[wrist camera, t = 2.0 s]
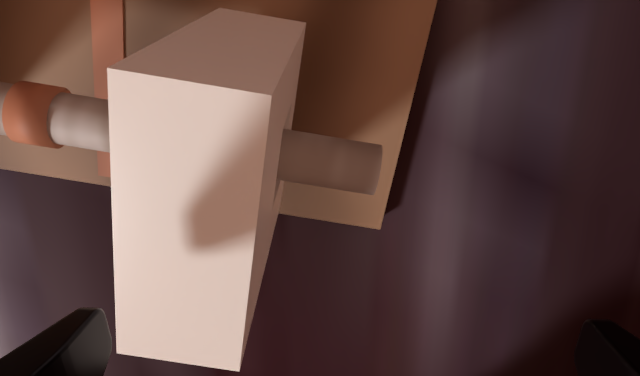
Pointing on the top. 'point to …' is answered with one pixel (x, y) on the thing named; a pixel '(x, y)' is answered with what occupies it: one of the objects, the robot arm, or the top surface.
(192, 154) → the tan rectangular block
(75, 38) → the rod stand
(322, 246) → the top surface
